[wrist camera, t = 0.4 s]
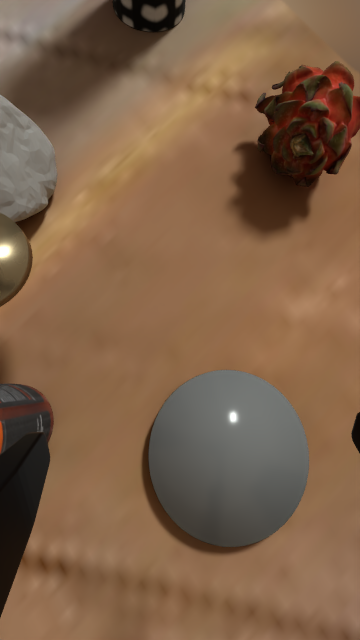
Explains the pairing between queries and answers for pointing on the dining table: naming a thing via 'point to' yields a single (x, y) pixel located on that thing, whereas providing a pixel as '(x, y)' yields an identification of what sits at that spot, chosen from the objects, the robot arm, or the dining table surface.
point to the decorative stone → (24, 164)
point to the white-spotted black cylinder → (150, 13)
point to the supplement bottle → (22, 414)
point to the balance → (13, 259)
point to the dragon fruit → (310, 122)
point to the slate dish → (228, 458)
